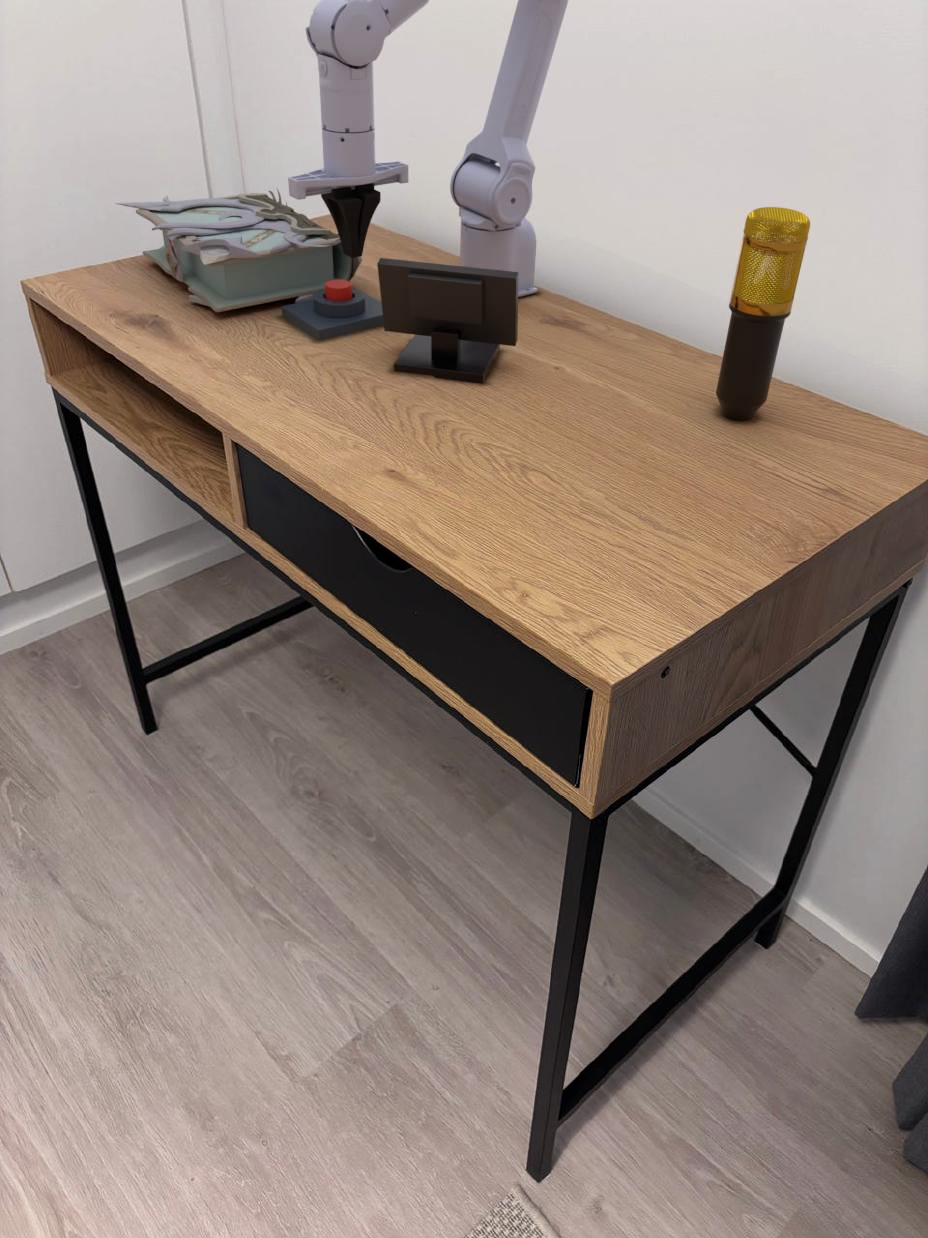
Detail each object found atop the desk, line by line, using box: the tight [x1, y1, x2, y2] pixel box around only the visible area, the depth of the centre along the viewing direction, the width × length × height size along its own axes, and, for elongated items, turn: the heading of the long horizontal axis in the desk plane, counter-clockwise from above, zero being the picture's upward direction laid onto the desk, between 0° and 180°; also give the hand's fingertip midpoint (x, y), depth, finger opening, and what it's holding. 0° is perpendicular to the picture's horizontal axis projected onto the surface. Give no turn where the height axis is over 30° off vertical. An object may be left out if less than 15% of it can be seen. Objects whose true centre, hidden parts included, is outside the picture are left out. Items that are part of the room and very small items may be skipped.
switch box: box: [281, 287, 384, 342], centre depth 120 cm, size 11×9×3 cm
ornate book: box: [114, 188, 363, 313], centre depth 130 cm, size 23×10×30 cm
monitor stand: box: [393, 327, 501, 384], centre depth 111 cm, size 9×10×4 cm
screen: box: [376, 257, 519, 347], centre depth 108 cm, size 2×15×8 cm, turn 77°
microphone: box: [715, 206, 811, 421], centre depth 100 cm, size 6×13×20 cm, turn 34°
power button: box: [325, 279, 353, 301], centre depth 119 cm, size 3×3×2 cm
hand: (352, 254), depth 117 cm, fingers closed
